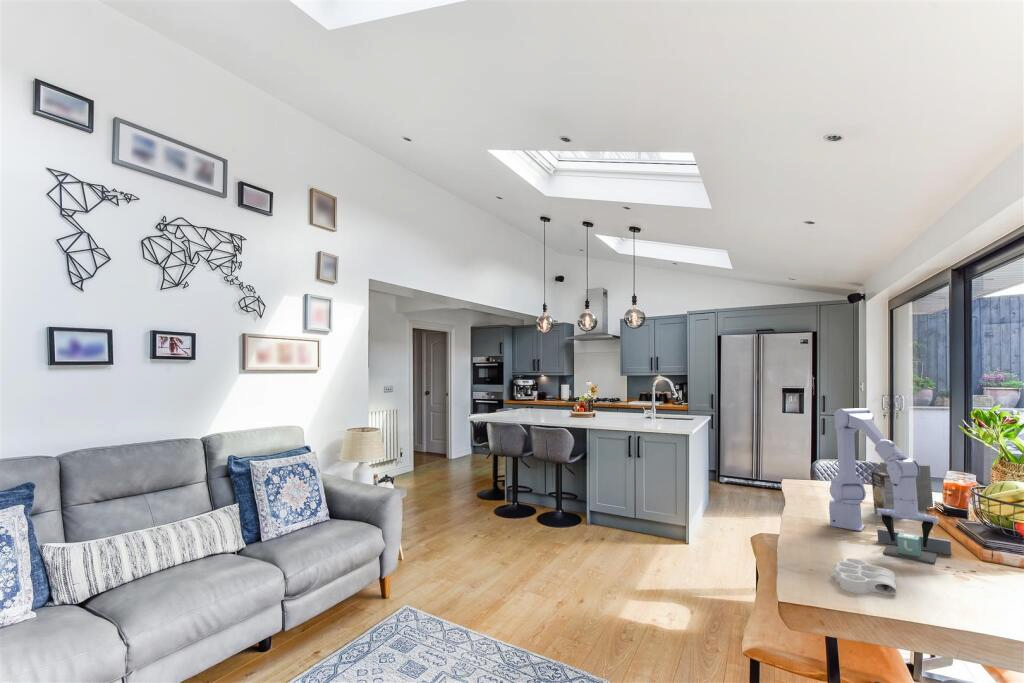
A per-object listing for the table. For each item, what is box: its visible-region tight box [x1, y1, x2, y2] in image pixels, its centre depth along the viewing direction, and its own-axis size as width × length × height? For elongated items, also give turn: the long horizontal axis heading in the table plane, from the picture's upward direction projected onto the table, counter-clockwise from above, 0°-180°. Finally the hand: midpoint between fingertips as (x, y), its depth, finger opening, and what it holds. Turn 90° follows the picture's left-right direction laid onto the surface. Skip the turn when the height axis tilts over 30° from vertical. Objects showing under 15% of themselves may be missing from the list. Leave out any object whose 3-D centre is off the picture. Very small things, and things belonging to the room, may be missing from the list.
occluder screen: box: [876, 527, 952, 556], centre depth 155 cm, size 18×2×4 cm, turn 45°
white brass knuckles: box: [828, 557, 897, 596], centre depth 132 cm, size 3×18×15 cm
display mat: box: [882, 544, 938, 565], centre depth 149 cm, size 12×9×1 cm
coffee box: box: [871, 470, 901, 520], centre depth 188 cm, size 9×6×16 cm
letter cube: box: [897, 531, 922, 557], centre depth 149 cm, size 5×5×5 cm
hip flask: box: [879, 461, 934, 511], centre depth 197 cm, size 16×4×20 cm, turn 57°
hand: (908, 543), depth 149 cm, fingers open, 7 cm apart
